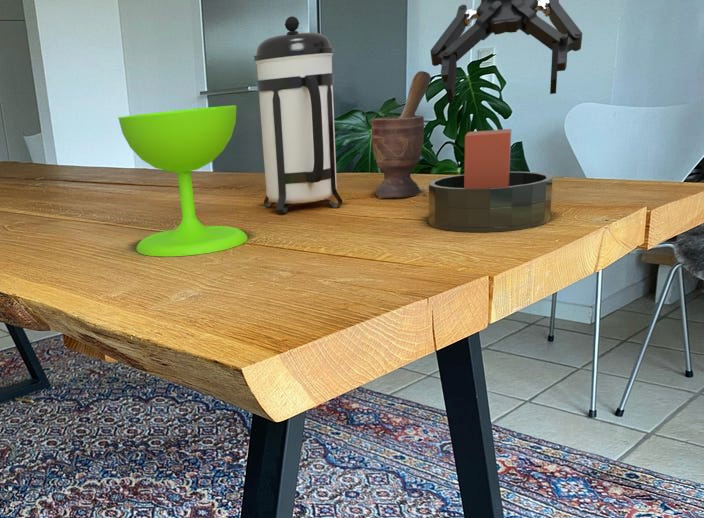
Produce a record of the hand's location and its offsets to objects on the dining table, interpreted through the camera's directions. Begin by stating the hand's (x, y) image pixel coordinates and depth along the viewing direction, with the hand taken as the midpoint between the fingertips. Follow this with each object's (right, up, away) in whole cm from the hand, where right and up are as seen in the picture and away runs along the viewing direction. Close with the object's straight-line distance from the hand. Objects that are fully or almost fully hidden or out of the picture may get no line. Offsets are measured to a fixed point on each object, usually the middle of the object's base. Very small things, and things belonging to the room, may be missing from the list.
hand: (500, 91), depth 103 cm
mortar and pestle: (-7, -8, +27) cm, 29 cm away
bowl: (-3, -18, -2) cm, 19 cm away
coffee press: (-25, -12, +23) cm, 36 cm away
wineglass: (-43, -21, +2) cm, 48 cm away
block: (-3, -18, -2) cm, 18 cm away
